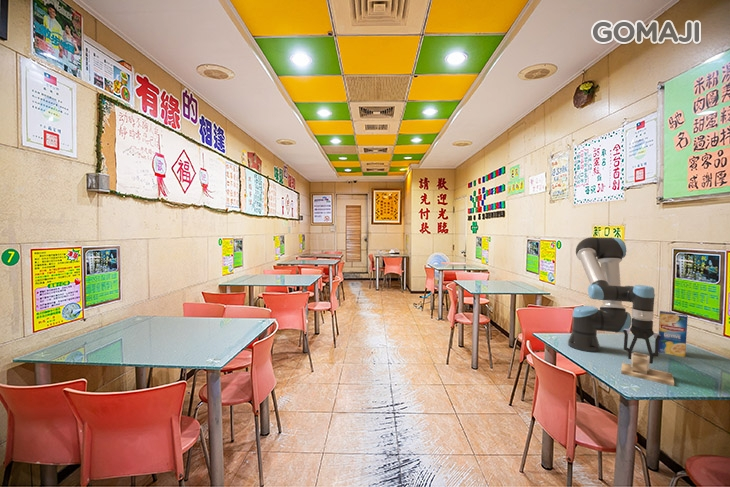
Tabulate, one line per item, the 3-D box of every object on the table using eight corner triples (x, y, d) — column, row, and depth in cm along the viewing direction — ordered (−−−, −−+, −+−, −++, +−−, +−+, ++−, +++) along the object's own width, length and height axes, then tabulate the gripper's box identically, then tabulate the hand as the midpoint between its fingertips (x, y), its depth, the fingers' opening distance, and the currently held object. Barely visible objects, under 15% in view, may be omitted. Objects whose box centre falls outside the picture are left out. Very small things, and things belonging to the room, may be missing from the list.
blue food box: (685, 357, 174) (687, 316, 173) (657, 351, 181) (660, 312, 180) (684, 353, 179) (686, 314, 178) (657, 348, 186) (659, 310, 185)
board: (621, 373, 152) (621, 370, 151) (622, 365, 161) (622, 362, 161) (674, 386, 140) (674, 382, 140) (671, 376, 149) (672, 373, 149)
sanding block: (632, 371, 150) (633, 356, 150) (632, 366, 156) (633, 352, 156) (646, 374, 147) (647, 359, 147) (646, 369, 153) (647, 354, 153)
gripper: (617, 316, 154) (615, 364, 155) (669, 324, 142) (666, 376, 143) (618, 313, 159) (616, 360, 160) (668, 321, 148) (665, 371, 148)
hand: (639, 367), depth 152 cm, fingers closed on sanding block, 5 cm apart
